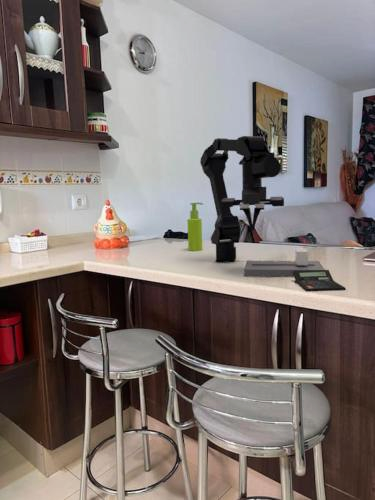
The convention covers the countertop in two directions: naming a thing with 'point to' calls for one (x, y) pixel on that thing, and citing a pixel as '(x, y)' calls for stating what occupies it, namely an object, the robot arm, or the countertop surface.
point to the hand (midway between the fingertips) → (252, 230)
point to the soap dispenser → (194, 230)
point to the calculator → (316, 280)
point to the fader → (301, 256)
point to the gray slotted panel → (278, 268)
